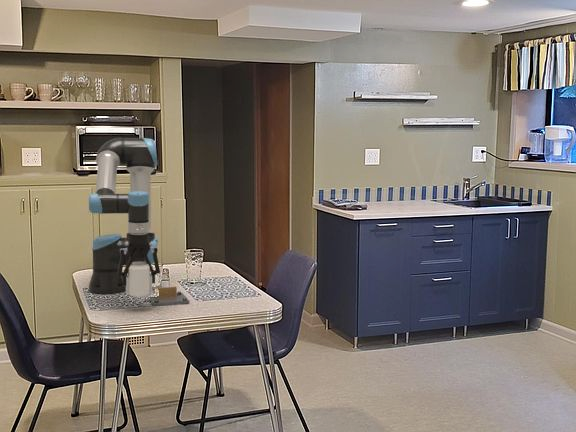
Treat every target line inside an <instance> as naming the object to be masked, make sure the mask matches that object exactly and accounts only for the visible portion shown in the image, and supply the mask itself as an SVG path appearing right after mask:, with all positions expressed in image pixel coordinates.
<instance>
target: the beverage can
mask: <svg viewBox="0 0 576 432" xmlns="http://www.w3.org/2000/svg"><path fill="white" fill-rule="evenodd" d="M150 274H151V272H150V267H149V265H148V264H147V263H146V262H132V265H130V267H129V271H128V274H127V276H128V277H129V294H128V295H129V296H131V297H135V298H139V297H140V298H141V297H142V298H143V297H147V296H148V295H150Z"/></svg>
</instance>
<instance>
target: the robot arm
mask: <svg viewBox="0 0 576 432" xmlns="http://www.w3.org/2000/svg"><path fill="white" fill-rule="evenodd" d="M95 163H96V165H97V173H96V181H95V182H96V183H95V185H96V186H95V192H94V193H90V194H89V195H88V211H89V212H90V213H91V214H99V215H103V214H104V215H105V214H109V215H110V214H128V215H127V216H128V218H127V219H128V220H127V225H128V227H127V230H128V231H126V237H122V234H121V233H110V234H105V235H104V234H103V235H99V236H96V237H95V238H93V240H92V248H91V250H92V275H91V278H90V281H89V283H88V291H89V293H92V294H99V295H101V294H102V295H109V294H110V295H111V294H119V293H123V292H125V294H126V295H129V277H128V271H129V267H130V265H132V262H146V263H147V264H148V265H149V267H150V293H153V284H155V283H156V275H157V274H160V273H161V271H160V265H159V259H158V255H157V254H158V242H159V238H158V236H156V235H155V232H154V231H153V230H152V212H151V211H152V195H151V194H152V192H151V191H152V190H151V189H152V182H151V181H152V179H151V176H152V175H151V174H152V173H153V172H154V171H155V167H156V166H158V165H159V164H158V155H157V148H156V142H155V140H154V139H152V138H146V137H116V138H112V139H110V140H108V141H106V142H105V143H104V144H103V145H102V146H100V147H99V149H98V150H97V153H96V158H95ZM119 166H126V171H127V172H128V173H129V178H130V179H129V185H130V186H129V192H128V193H116V189H117V173H118V171H117V170H118V167H119ZM152 265H154V268H155V269H154V268H153V266H152ZM124 266H125V268H124ZM123 268H124V269H123Z"/></svg>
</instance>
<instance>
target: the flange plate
mask: <svg viewBox="0 0 576 432" xmlns="http://www.w3.org/2000/svg"><path fill="white" fill-rule="evenodd" d="M157 288H158V290H159V296H157V297H149V298H150V300H149V302H150V301H151V302H150V303H151V304H152V306H153V307H159V306H160V307H161V306H172V305H173V306H175V305H176V306H177V305H188V304H190V300H189V299H188V298H187V296H186V295H185V294H184V293H183V292H182V291H179V290H178V287H177V286H166V287H165V286H162V287H161V286H160V287H157Z"/></svg>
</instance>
